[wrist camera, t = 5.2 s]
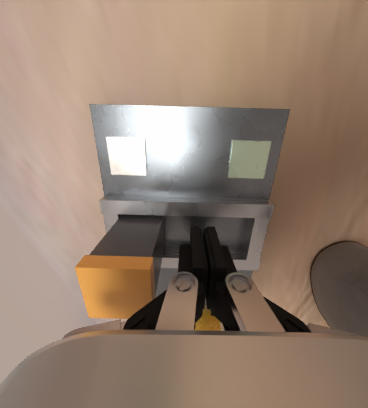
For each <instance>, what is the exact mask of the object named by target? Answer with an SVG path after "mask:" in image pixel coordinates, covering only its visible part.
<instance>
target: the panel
mask: <svg viewBox="0 0 368 408" xmlns="http://www.w3.org/2000/svg"><path fill="white" fill-rule="evenodd" d="M90 110H91V116H92V123H93V129H94V135H95V141H96V147H97V153H98V159H99V165H100V172H101V178H102V184H103V190H104V197H103V198H101V199H100V200H99V202H100V208H101V214H103V217H104V223H105V228H106V234H107V232H108V231H109V230H110V229H111V227H112V226H113V225H114V224H115V222H116V221H117V220H118V219H119V217H120V216H121V215H122V214H128V215H164V235H165V248H164V253H163V258H162V264H161V269H160V274H159V279H158V285H157V290H156V295H155V298H156V297H157V296H159V295H160V294H161V293H163V292H164V291H165V290H167V288H168V285H169V282H170V279H171V277H172V276H173V275H174V274H176V273H178V261H179V245H190V228H191V226H198V227H199V228H201V229H202V234H203V229H204V228H206V227H207V226H214V227H215V229H216V232H217V235H218V238H219V242H220V245H227V246H228V249H229V251H230V254H231V257H232V259H233V262H234V265H235V267H236V270H237V273H242V274H244V275H247V276H248V277H249V278H251V276H252V271H253V270H254V271H258V270H259V266H260V262H261V260H260V256H261V252H262V248H263V244H264V240H265V236H266V232H267V227H268V223H269V219H270V218H271V217H272V213H273V209H274V204H273V203H271V202H270V201H269V198H270V193H271V189H272V185H273V180H274V176H275V172H276V168H277V163H278V159H279V155H280V150H281V146H282V142H283V137H284V133H285V129H286V124H287V120H288V116H289V111H290V109H257V108H220V107H182V106H145V105H107V104H90ZM205 306H206V298H205Z"/></svg>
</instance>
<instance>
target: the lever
mask: <svg viewBox="0 0 368 408" xmlns="http://www.w3.org/2000/svg"><path fill="white" fill-rule="evenodd" d="M164 248H165V235H164V215H128V214H122V215H121V216H120V217H119V219H118V220H117V221H116V222H115V224H114V225H113V226H112V227H111V229H110V230H109V231H108V232H107V234H106V235H105V236H104V237H103V239H102V240H101V241H100V242H99V244H98V245H97V246H96V247H95V249H94V250H93V251H92V252H91V254H90V255H85V256H84V257H83V258H82V260H81V261H80V262H79V263H78V264H77V266H76V267H75V269H76V273H77V277H78V280H79V284H80V287H81V291H82V294H83V298H84V301H85V305H86V309H87V312H88V316H89V318H119V319H129V318H130V317H131V316H132V315H133V314H134V313H136V312H137V311H138V310H140V309H141V308H142V307H144V306H145V305H146V304H148V303H149V302H151V301H152V300H153V299H155V295H156V290H157V285H158V279H159V274H160V269H161V264H162V258H163V253H164Z"/></svg>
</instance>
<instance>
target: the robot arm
mask: <svg viewBox="0 0 368 408" xmlns="http://www.w3.org/2000/svg"><path fill="white" fill-rule="evenodd" d="M205 298H206V306H207V309H210V311H211V316H215V317H216V318H217V319H218V320H219V321H220V322H219V323H220V328H221V331H208V330H195V326H196V322H197V321H198V320H199V319H200V318H201V317H202V314H203V309H205ZM0 408H368V337H365V336H360V335H357V334H354V333H349V332H345V331H341V330H337V329H332V328H328V327H324V326H319V325H315V324H311V323H309V324H308V325H305V324H304V323H303V322H302V321H301V320H299V319H298V318H297V317H295V316H293V315H292V314H290V313H289V312H287V311H285V310H284V309H282V308H281V307H279V306H278V305H276V304H274V303H273V302H271V301H270V300H268V299H266V298H265V297H263V296H262V294H261V293H260V291H259V290H258V288H257V287H256V285H255V284H254V282H253V281H252V280H251V278H249V277H248V276H247V275H244V274H242V273H237V270H236V267H235V265H234V262H233V259H232V257H231V254H230V251H229V249H228V246H227V245H220V242H219V238H218V235H217V232H216V229H215V227H214V226H207V227H206V228H204V229H203V234H202V229H201V228H199V227H198V226H191V228H190V245H179V261H178V273H176V274H174V275H173V276H172V277H171V279H170V282H169V285H168V288H167V290H165V291H164V292H163V293H161V294H160V295H159V296H157V297H156V298H155V299H153V300H152V301H151V302H149V303H148V304H146V305H145V306H144V307H142V308H141V309H140V310H138V311H137V312H136V313H134V314H133V315H132V316H131V317H130V318H129V319H128V320H127V321H123V322H121V319H120V320H116V321H111V322H106V323H102V324H97V325H93V326H87V327H83V328H79V329H75V330H73V331H71V332H69V333H68V334H66V335H65V336H64V337H63V338H62V339H61V340H58V341H56V342H53V343H51V344H49V345H46V346H45V347H43V348H41V349H39V350H37V351H36V352H34V353H32V354H31V355H30V356H28V357H27V358H26V359H24V360H23V361H22V362H21V363H20V364H19V365H18V366H17V367H16V368H15V369H14V370H13V371H12V372H11V373H10V374H9V375H8V376H7V377H6V378H5V379H4V380H3V382H2V383H1V384H0Z"/></svg>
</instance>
